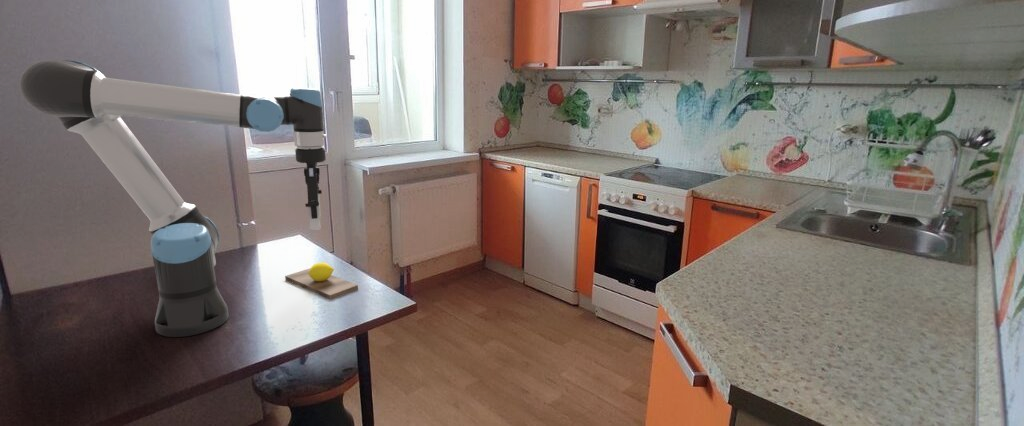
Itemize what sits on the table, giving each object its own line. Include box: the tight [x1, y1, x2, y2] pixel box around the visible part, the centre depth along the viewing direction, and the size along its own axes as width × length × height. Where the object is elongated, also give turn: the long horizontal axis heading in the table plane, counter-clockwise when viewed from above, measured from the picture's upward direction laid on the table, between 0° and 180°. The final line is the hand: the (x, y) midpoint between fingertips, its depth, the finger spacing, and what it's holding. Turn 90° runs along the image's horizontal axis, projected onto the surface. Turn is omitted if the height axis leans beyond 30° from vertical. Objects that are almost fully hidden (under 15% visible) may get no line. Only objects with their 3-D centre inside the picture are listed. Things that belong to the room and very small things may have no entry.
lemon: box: [308, 262, 335, 282], centre depth 147 cm, size 7×5×5 cm
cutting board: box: [284, 267, 359, 300], centre depth 148 cm, size 22×9×1 cm, turn 54°
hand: (315, 222), depth 144 cm, fingers open, 13 cm apart
